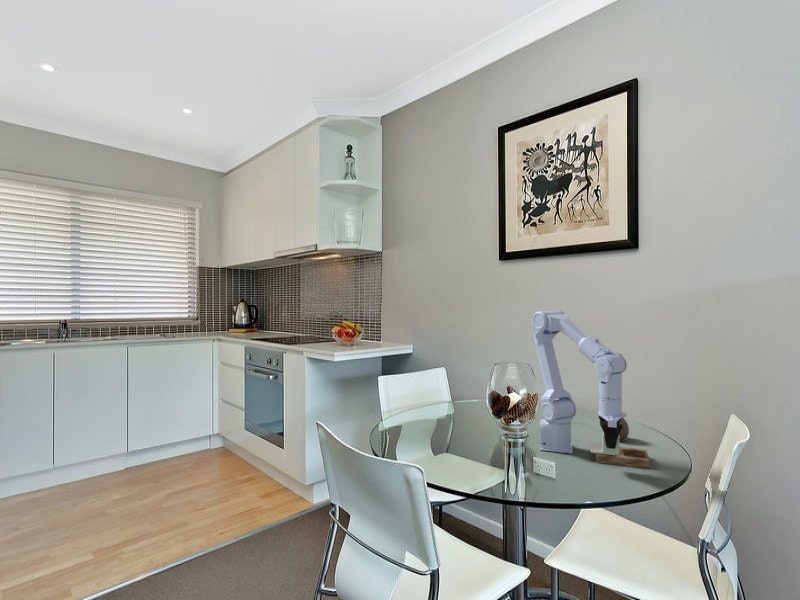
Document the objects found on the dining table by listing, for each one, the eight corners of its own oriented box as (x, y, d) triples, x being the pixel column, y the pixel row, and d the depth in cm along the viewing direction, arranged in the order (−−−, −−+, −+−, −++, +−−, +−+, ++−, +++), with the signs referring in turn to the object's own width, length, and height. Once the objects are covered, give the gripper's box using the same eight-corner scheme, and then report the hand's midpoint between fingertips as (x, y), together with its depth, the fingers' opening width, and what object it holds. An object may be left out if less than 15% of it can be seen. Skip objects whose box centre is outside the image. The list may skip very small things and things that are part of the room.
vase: (631, 443, 143) (631, 416, 142) (609, 442, 144) (608, 415, 144) (625, 436, 149) (625, 410, 149) (603, 435, 151) (603, 410, 150)
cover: (590, 452, 129) (590, 444, 129) (589, 443, 136) (589, 435, 136) (614, 455, 127) (614, 446, 127) (612, 445, 134) (612, 437, 134)
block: (603, 452, 121) (603, 435, 121) (602, 447, 125) (602, 430, 124) (619, 454, 119) (619, 436, 119) (617, 449, 123) (618, 432, 123)
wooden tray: (596, 462, 128) (596, 454, 128) (594, 451, 136) (594, 444, 136) (650, 468, 123) (650, 460, 123) (645, 456, 131) (645, 449, 131)
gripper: (629, 405, 113) (629, 456, 114) (623, 391, 127) (623, 438, 127) (599, 402, 116) (599, 453, 116) (597, 390, 129) (597, 435, 130)
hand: (610, 445), depth 122 cm, fingers closed on block, 4 cm apart
